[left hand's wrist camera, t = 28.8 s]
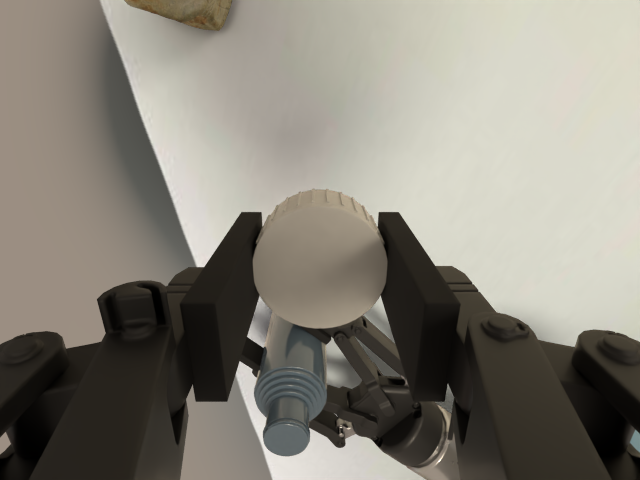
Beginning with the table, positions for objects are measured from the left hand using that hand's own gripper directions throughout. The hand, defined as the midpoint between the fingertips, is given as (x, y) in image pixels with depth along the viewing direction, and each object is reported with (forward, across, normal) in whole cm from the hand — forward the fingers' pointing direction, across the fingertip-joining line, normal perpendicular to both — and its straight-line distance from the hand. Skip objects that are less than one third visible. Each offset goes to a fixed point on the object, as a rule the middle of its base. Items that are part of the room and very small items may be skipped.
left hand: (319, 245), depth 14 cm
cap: (-2, 0, 0) cm, 2 cm away
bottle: (+24, -2, -18) cm, 30 cm away
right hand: (+17, -6, -15) cm, 23 cm away
